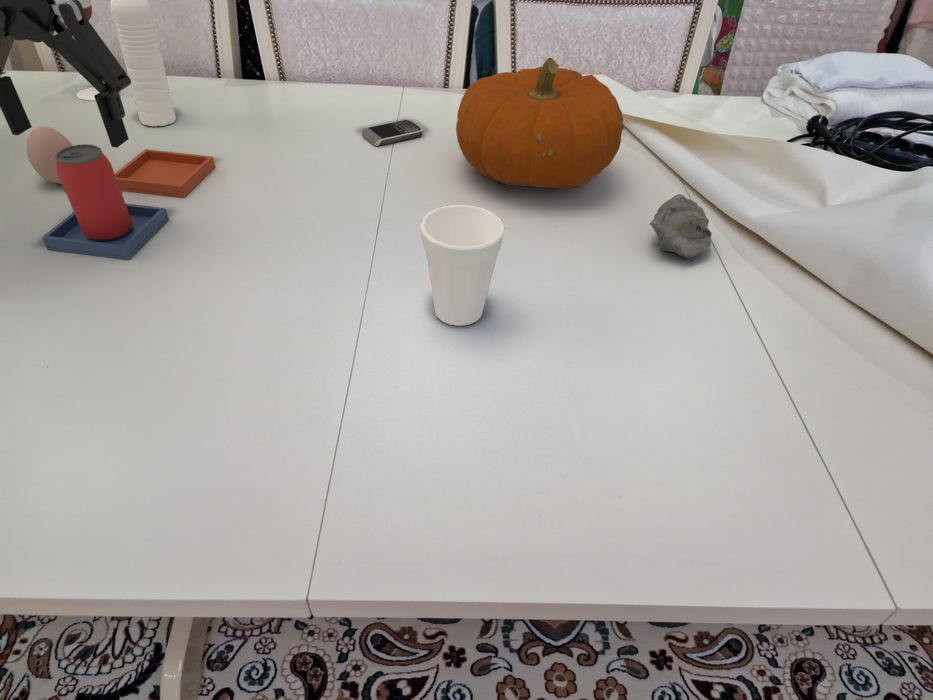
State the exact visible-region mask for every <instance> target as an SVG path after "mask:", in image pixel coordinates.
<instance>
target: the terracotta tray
mask: <svg viewBox="0 0 933 700" xmlns="http://www.w3.org/2000/svg"><path fill="white" fill-rule="evenodd" d="M215 168H216V166H215V161H214V157H213V156H212V155H211V156H209V155H201V154H193V153H184V152H176V151H175V152H174V151H165V150H158V149H157V150H155V149H148V148H147V149H144V150H143V151H142V152H140V153H139V154H138V155H137V156H135V157H134V158H132V159H131V160H130V161H129V162H127V163H126V164H125V165H124V166H122V167H121V168H120V169H119V170H117V171H116V172H114V174H115V176H116V179H117V182H118V185H119V187H120V190H121V192H122V191H123V192H124V191H125V192H132V193H140V194H149V195H150V194H151V195H157V196H167V197H173V198H174V197H176V198H184V199H185V198H186V197H187V196H188V195H189V194H190V193H191V192H192V191H193V190H194V189H195V188H196V187H197V186H198V185H199V184H200V183H201V182H202V181H203V180H204V179H205V178H206V177H207V176H208V175H210V173H211V172H212V171H213V170H214V169H215Z"/></svg>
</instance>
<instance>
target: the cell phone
mask: <svg viewBox="0 0 933 700" xmlns="http://www.w3.org/2000/svg"><path fill="white" fill-rule="evenodd" d="M423 133H424V129H423V128H422V127H421V126H420V125H418V124H417V123H415V122H414V121H412V120H409V119H403V120H398V121H393V122H389V123H384V124H379V125H374V126H370V127H365V128H363V129H362V130H361V136H362V137H363V138H364V139H365V140H367V141H368V142H369V143H371V144H372V145H374V146H376V147H379V146H384V145H388V144H392V143H397V142H401V141H406V140H411V139H415V138H418V137H421V136H423Z"/></svg>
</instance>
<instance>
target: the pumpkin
mask: <svg viewBox="0 0 933 700" xmlns="http://www.w3.org/2000/svg"><path fill="white" fill-rule="evenodd" d="M456 118H457V121H456V125H455V132H456V139H457V143H458V145H459V148H460V151H461V154H462V155H463V157H464V159H465V160H466V162H468V164H469V165H470V166H471V167H473V169H475V171H476V172H478V173H479V174H480V175H481V176H483V177H485V178H488V179H491V180H494V181H497V182H499V183H502V184H503V185H509V186H517V187H525V186H529V187H533V188H545V189H552V188H553V189H554V188H557V189H572V188H575V187H579V186H583V185H584V184H586V183H588V182H590V181H591V180H592V179H594V177H596V176H597V175H599V174H600V173H602V172H603V171H604V170H605V169H606V168H607V167H609V165H611V163H612V161H613V160H614V158H615V157H616V156H617V154H618V151H619V149H620V147H621V143H622V135H623V131H624V130H625V125H624V117H623V112H622V110H621V108H620V105H619V103H618V100H617V97H616V96H615V95H614V94H613V93H612V91H611V90H610V88H609V87H608V86H607V85H606V84H604V83H603V82H601V81H600V80H599V79H598V78H597V77H595V76H594V75H593V74H586V75H582V74H581V72H578V71H577V70H573V69H568V68H564V67H563V68H561V67H560V65H559V63H557V62H556V60H555V59H553V57H548V58H547V59H545V61H544V63H543V64H542V66H538V67H534V68H522V69H520V70H517V71H516V72H512V71H511V72H510V71H506V72H505V71H503V72H498V73H496V74H493V75H491V76H485V77H481V78H478V79H477V80H476V81H474V82H472V83H471V84H470V85H469V86H468V88H467V89H466V90H465V92H464V93H463V96H462V98H461V100H460V103H459V107H458V110H457V117H456Z"/></svg>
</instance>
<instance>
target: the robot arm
mask: <svg viewBox="0 0 933 700" xmlns="http://www.w3.org/2000/svg"><path fill="white" fill-rule="evenodd" d="M58 17H60V20H59V19H58ZM63 23H65V25H66V26H65V25H64V24H63ZM55 33H56V34H55ZM54 34H55V35H54ZM25 40H28V41H30V42H33V43H44V45H45V46H46V47H48V48H49V49H52V50H55V51H56V53H58V54H59V55H60V56H61V57H62V58H63V59H64V60H65V61H66V62H67V63H68V64H69V65H70V66H72V68H73V69H74V70H75V71H76V72H78V74H80V75H81V77H82V78H84V79H85V81H87V82H88V83H89V84H90V85H91V87H94V88H95V89H96V90H97V91H98V92H99V93H98V94H96V95H95V96H94V97H95V100H94V101H95V103H96V105H97V108H98V112H99V114H100V117H101V120H102V123H103V125H104V129H105V132H106V134H107V137H108V140H109V144H110V146H111V148H116V149H117V148H119V147H121V146H122V145H123V144H124V143H126V142H127V141H128V140H129V136H128V135H129V134H128V131H127V129H126V126H125V122H124V120H123V119H124V118H125V117H126V111H125V108H124V104H123V101H122V98H121V95H120V92H121V91H122V90H125V89H126V88H128V87H129V86H131V79H130V78H129V76H128V73H127V71H125V69H124V68H123V66H122V65H121V64H120V63H119V61H118V60H117V58H116V56H114V54H113V53H112V51H111V49H110V48H109V47H108V46H107V45H106V43H105V42H104V41H103V39H102V38H101V36H100V35H99V34H98V32H97V31H96V29H95V28H94V27H93V25H92V24H91V22H90V20H89V21H88V19H87V16H86V14H85V12H84V9H83V7H82V5H81V3H80V2H79V1H78V0H71V1H68V2H61V3H56V2H55V1H54V0H0V110H1V112H2V114H3V117H4V119H5V121H6V123H7V126H8V127H9V129H10V130H9V131H10V132H11V134H12V136H13V135H14V136H20V135H21V134H24V133H25V132H26V131H28V130H29V129H31V128H33V126H32V123H31V122H30V119H29V117H28V115H27V112H26V110H25V107H24V105H23V103H22V101H21V99H20V96H19V94H18V92H17V89H16V87H15V84H14V82H13V79H12V77H11V76H9V75H4V74H6V73H7V71H5V67H6V64H7V62H8V59H9V56H10V53H11V51H12V47H13V45H14V42H15V41H25ZM2 75H4V76H2Z"/></svg>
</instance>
